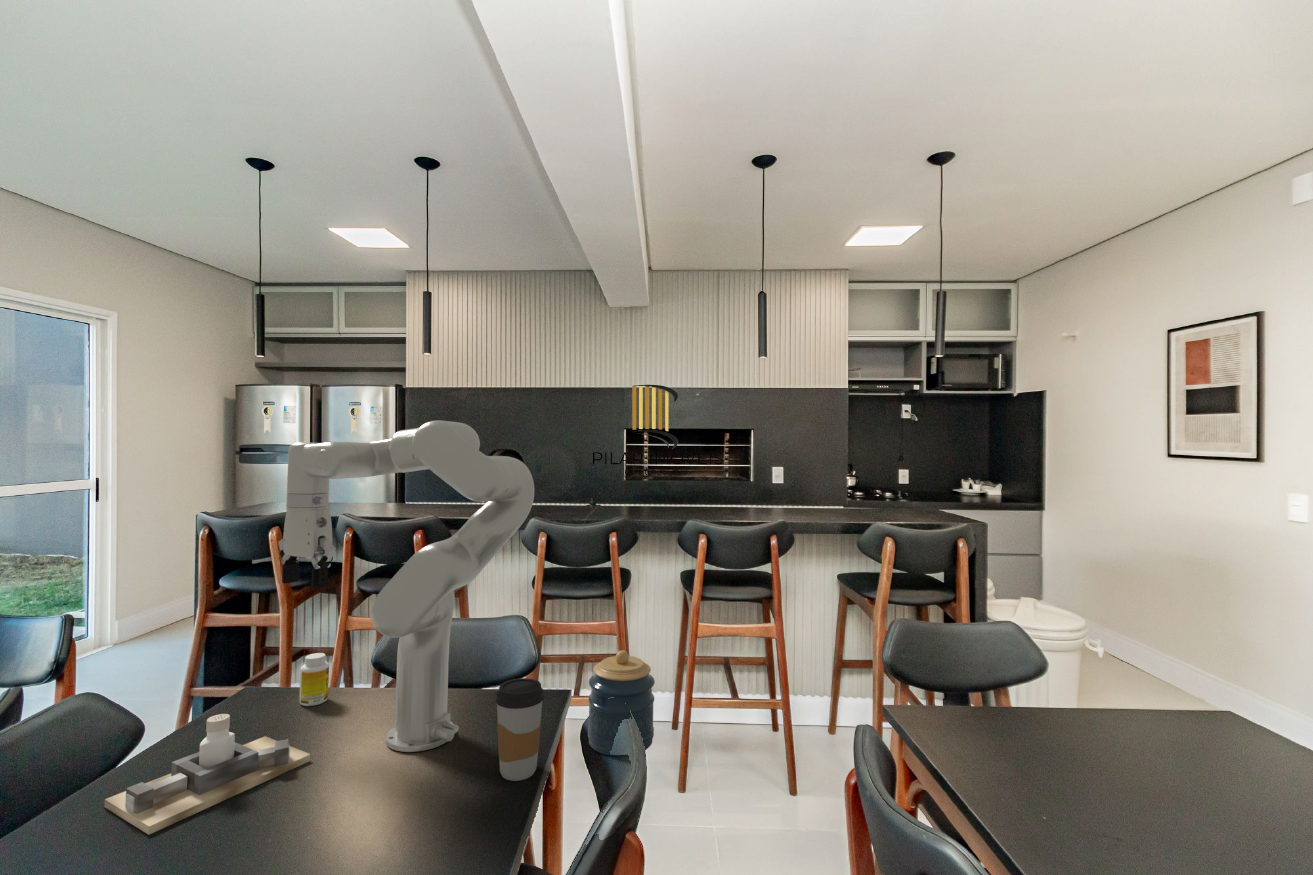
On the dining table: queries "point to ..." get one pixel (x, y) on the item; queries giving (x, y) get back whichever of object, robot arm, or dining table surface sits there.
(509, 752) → the coffee cup
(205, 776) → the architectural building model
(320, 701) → the supplement bottle
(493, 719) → the dining table surface
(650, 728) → the canister
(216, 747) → the pepper shaker
